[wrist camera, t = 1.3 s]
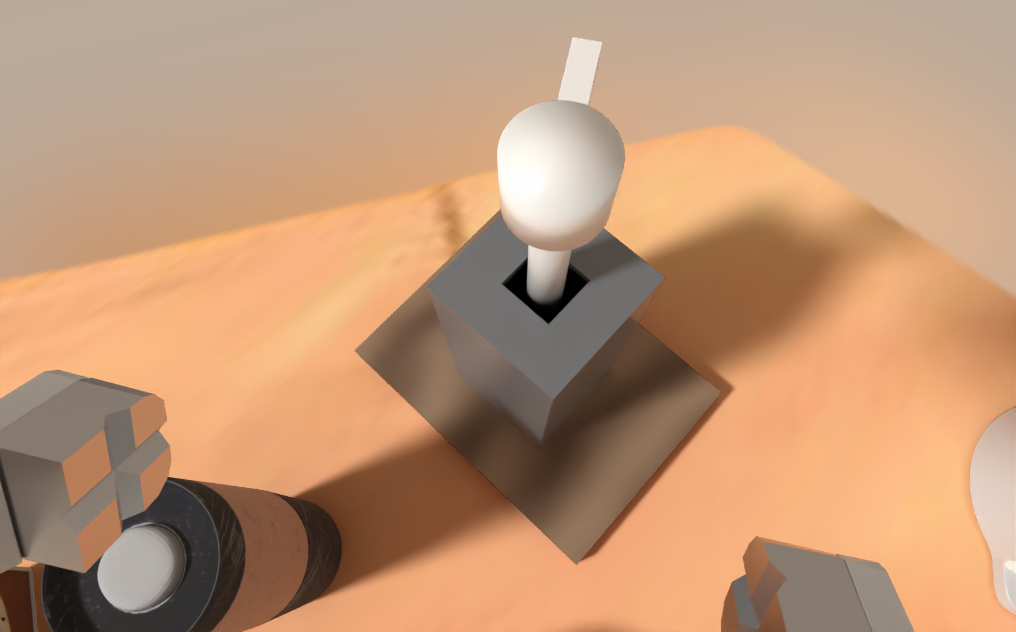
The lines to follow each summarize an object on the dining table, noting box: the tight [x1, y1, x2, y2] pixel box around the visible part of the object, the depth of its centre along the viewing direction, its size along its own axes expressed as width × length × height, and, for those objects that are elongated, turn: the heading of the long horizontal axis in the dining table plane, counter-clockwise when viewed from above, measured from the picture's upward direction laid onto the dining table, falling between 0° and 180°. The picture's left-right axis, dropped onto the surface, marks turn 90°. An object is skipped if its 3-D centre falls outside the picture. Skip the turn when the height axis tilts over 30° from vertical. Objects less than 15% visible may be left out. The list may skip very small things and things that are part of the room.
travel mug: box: [41, 477, 341, 632], centre depth 36 cm, size 8×8×20 cm
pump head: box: [497, 37, 625, 317], centre depth 27 cm, size 5×6×14 cm
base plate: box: [355, 209, 721, 564], centre depth 49 cm, size 22×16×2 cm
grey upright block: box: [427, 214, 665, 449], centre depth 39 cm, size 8×8×18 cm
